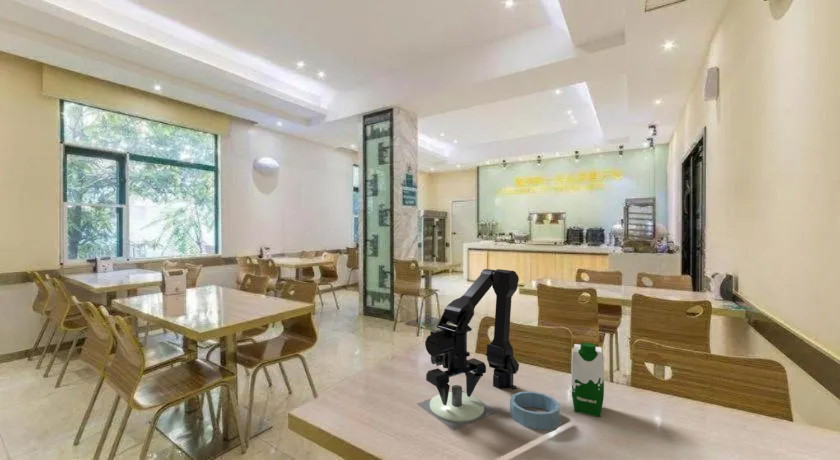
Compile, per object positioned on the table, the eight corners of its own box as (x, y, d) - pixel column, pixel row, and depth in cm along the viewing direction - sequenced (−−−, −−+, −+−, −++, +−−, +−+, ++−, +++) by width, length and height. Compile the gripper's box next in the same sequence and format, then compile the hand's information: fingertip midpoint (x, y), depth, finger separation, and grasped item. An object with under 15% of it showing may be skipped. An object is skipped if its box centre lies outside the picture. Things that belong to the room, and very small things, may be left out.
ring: (530, 403, 112) (530, 387, 112) (568, 423, 101) (569, 405, 101) (501, 416, 104) (501, 399, 104) (538, 438, 94) (539, 419, 94)
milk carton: (570, 412, 106) (571, 344, 106) (572, 399, 115) (572, 336, 114) (604, 419, 103) (605, 349, 102) (603, 405, 111) (603, 339, 111)
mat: (459, 392, 119) (460, 389, 119) (498, 414, 105) (498, 411, 105) (416, 406, 110) (416, 403, 110) (452, 433, 96) (452, 430, 96)
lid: (459, 390, 119) (459, 372, 118) (496, 411, 105) (496, 390, 105) (419, 404, 109) (419, 384, 109) (453, 428, 96) (453, 406, 96)
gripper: (463, 335, 119) (462, 382, 119) (415, 346, 109) (415, 398, 109) (487, 344, 110) (487, 396, 110) (438, 357, 99) (437, 414, 100)
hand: (456, 400), depth 107 cm, fingers open, 9 cm apart
